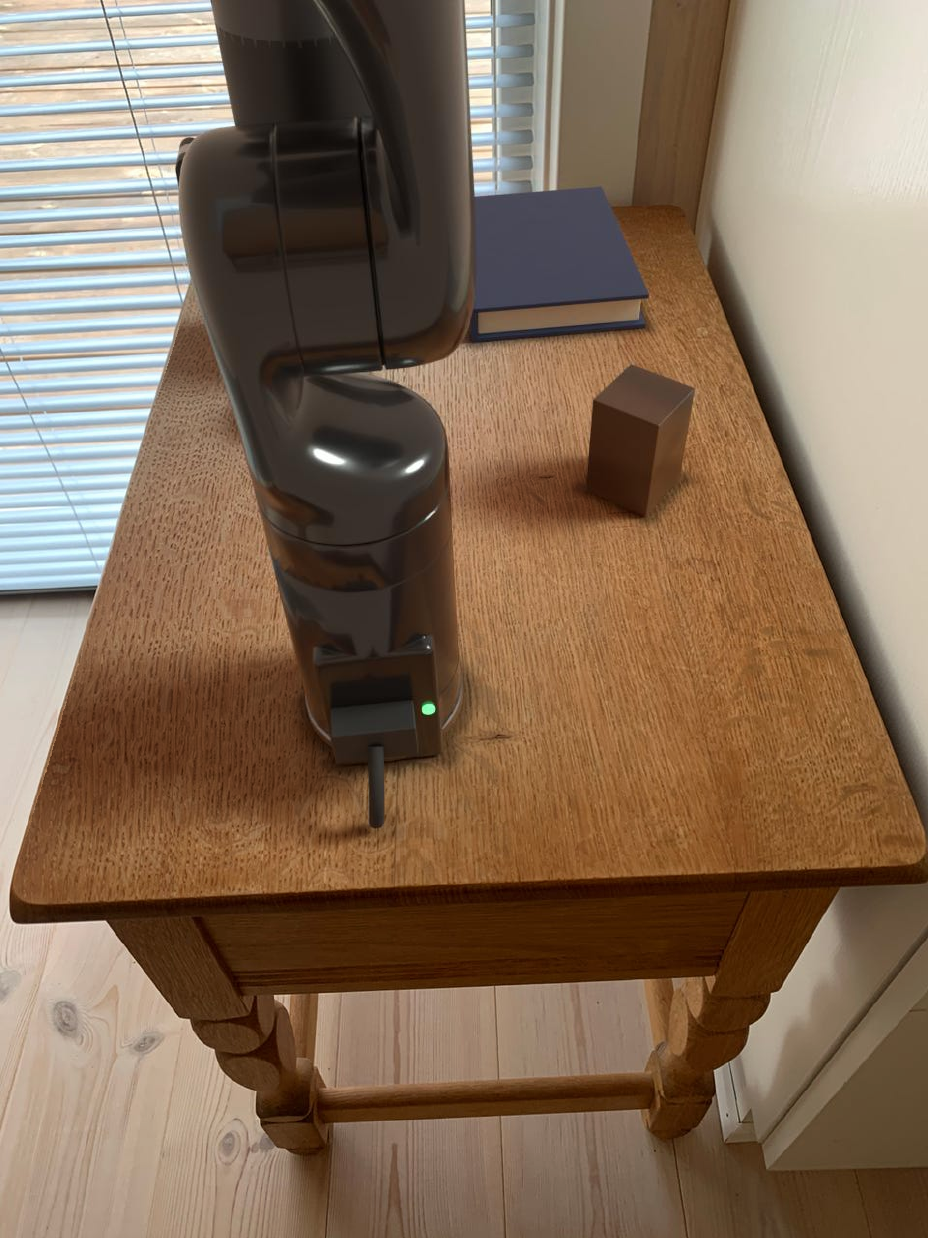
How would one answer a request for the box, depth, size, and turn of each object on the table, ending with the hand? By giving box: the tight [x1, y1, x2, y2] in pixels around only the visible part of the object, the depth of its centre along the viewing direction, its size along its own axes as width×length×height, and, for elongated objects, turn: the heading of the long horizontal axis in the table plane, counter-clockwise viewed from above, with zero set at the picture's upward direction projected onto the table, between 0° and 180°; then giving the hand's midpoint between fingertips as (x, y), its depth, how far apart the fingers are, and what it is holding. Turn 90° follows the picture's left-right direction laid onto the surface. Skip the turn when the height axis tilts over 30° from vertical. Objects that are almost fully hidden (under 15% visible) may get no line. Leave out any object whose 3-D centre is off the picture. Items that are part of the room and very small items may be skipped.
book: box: [467, 186, 650, 344], centre depth 90 cm, size 20×15×3 cm
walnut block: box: [585, 364, 696, 518], centre depth 69 cm, size 5×5×8 cm
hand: (343, 327), depth 55 cm, fingers open, 8 cm apart
